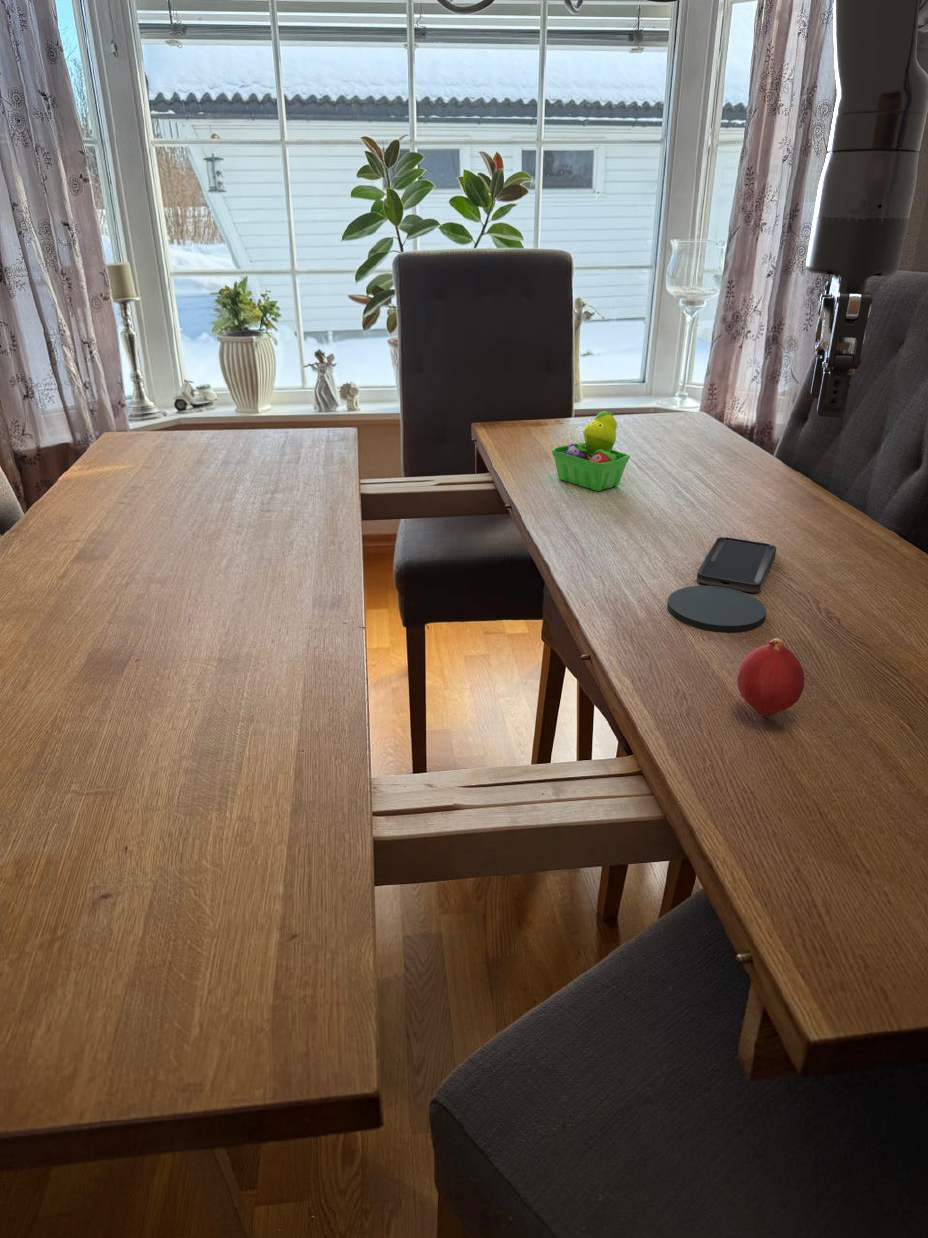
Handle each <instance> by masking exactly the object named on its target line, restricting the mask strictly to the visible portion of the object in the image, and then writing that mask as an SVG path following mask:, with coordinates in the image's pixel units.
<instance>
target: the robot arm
mask: <svg viewBox="0 0 928 1238" xmlns="http://www.w3.org/2000/svg"><path fill="white" fill-rule="evenodd" d="M832 17H833V22H832V23H833V48H834V49H833V51H834V71H835V80H836V81H835V82H836V101H835V104H834V105H835V106H834V111H833V117H832V123H831V130H830V134H829V140H828V147H827V153H826V158H825V160H824V165H823V168H822V171H821V175H820V178H819V181H818V182H819V183H818V188H817V194H816V200H815V206H814V211H813V217H812V218H813V219H812V222H811V223H812V224H811V229H810V230H811V231H810V236H809V242H808V247H807V255H806V261H805V268H806V270H807V271H808V272H810V273H813V274H819V275H832V278H831V280H827V281H826V284H824V287H823V291H824V293H823V294H820V297H819V301H818V309H817V315H818V317H817V321H816V324H815V334H814V335H815V338H814V343H815V348H814V352H815V356H817V357H816V360H815V366H814V371H813V376H812V382H811V388H810V395H811V397H812V398H813V399H818V401H817V407H816V412H817V414H818V416H820V417H826V418H827V417H828V418H840V417H842V416H844V414H845V410H846V406H847V400H848V394H849V390H850V385H851V380H852V374H853V375H854V374H855V370H858V369H859V366H861V363H862V358H861V356H862V352H863V351H862V350H863V345H864V342H865V340H866V331H867V323H868V319H869V316H870V314H871V311H872V304H873V297H872V295H873V293H871V292H866V291H867V282H868V280H869V279H870V278H871V277H886V276H893V275H894V274H896V273H897V272H898V271H899V268H900V264H901V259H902V255H903V250H904V245H905V240H906V236H907V230H908V224H909V221H910V216H911V211H912V206H913V202H914V196H915V193H916V186H917V179H918V164H919V158H920V150H921V147H922V141H923V136H924V132H925V126H926V122H927V114H928V73H927V72H926V71H925V69H923V68H922V67H921V65H920V64H919V62H918V58H917V46H918V35H920V34H924V33H927V32H928V0H833V15H832ZM846 352H847V353H846Z"/></svg>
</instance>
